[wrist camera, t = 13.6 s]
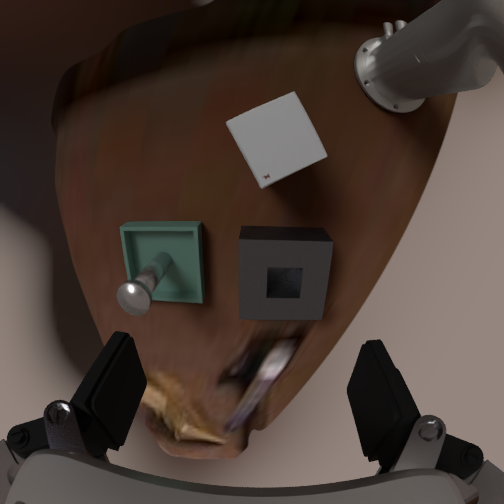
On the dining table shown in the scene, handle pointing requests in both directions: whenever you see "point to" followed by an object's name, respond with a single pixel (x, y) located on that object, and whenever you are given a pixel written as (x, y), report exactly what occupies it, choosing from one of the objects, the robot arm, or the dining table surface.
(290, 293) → the socket block
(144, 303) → the pin
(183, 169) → the dining table surface
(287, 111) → the supplement box
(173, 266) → the tray
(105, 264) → the dining table surface
